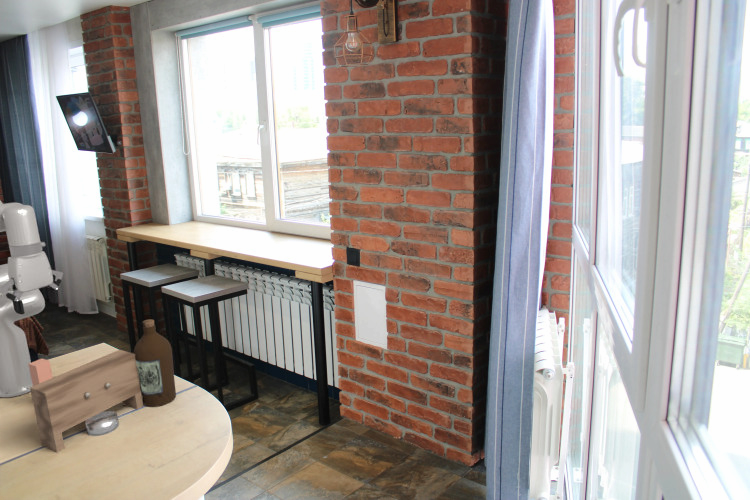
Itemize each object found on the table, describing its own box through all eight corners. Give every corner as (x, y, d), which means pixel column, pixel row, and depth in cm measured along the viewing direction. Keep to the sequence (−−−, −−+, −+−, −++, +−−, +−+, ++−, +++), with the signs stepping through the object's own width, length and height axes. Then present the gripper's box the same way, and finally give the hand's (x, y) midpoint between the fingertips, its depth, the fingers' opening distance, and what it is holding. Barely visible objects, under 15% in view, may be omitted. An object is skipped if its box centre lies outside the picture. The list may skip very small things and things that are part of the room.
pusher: (30, 410, 169) (21, 366, 166) (56, 398, 176) (48, 355, 172) (68, 425, 159) (59, 379, 156) (94, 412, 166) (86, 368, 163)
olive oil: (151, 390, 178) (139, 314, 172) (183, 390, 177) (173, 314, 171) (134, 408, 167) (121, 328, 161) (169, 408, 166) (157, 327, 160)
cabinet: (41, 445, 150) (29, 387, 146) (128, 400, 172) (119, 349, 168) (59, 453, 146) (47, 394, 142) (145, 406, 168) (137, 354, 164)
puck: (80, 432, 156) (79, 422, 156) (107, 418, 163) (105, 408, 162) (98, 439, 152) (97, 429, 152) (125, 424, 159) (123, 415, 158)
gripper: (48, 242, 168) (59, 297, 172) (-15, 256, 154) (-1, 316, 158) (63, 244, 165) (74, 300, 169) (0, 258, 150) (13, 320, 154)
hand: (37, 308), depth 163 cm, fingers open, 9 cm apart
